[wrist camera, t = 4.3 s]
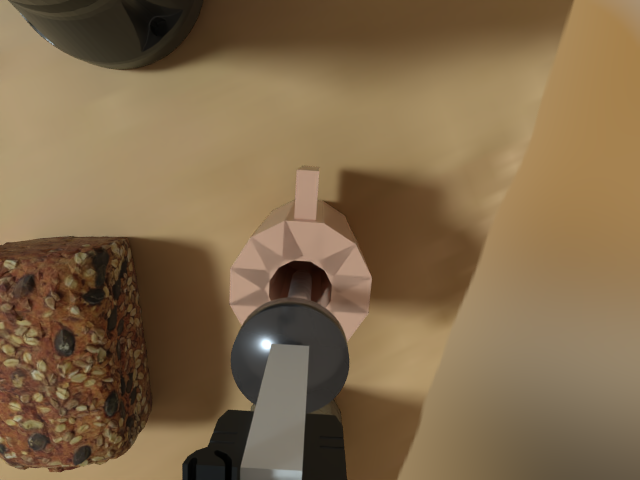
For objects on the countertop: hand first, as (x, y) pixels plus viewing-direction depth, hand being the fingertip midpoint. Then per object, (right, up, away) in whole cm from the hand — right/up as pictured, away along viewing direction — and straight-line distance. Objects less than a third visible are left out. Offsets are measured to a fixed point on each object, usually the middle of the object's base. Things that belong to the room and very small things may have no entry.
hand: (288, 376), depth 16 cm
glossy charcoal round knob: (0, +3, +12) cm, 13 cm away
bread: (-20, -3, +24) cm, 31 cm away
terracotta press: (0, +6, +21) cm, 22 cm away
